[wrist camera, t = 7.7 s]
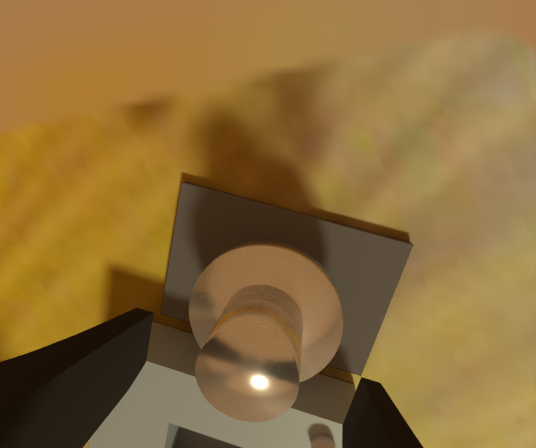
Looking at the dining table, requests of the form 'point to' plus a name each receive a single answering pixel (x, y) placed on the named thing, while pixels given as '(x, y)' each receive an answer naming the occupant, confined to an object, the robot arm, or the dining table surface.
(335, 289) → the end cap
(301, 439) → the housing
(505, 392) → the dining table surface
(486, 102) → the dining table surface
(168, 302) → the mat
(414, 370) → the dining table surface
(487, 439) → the dining table surface
